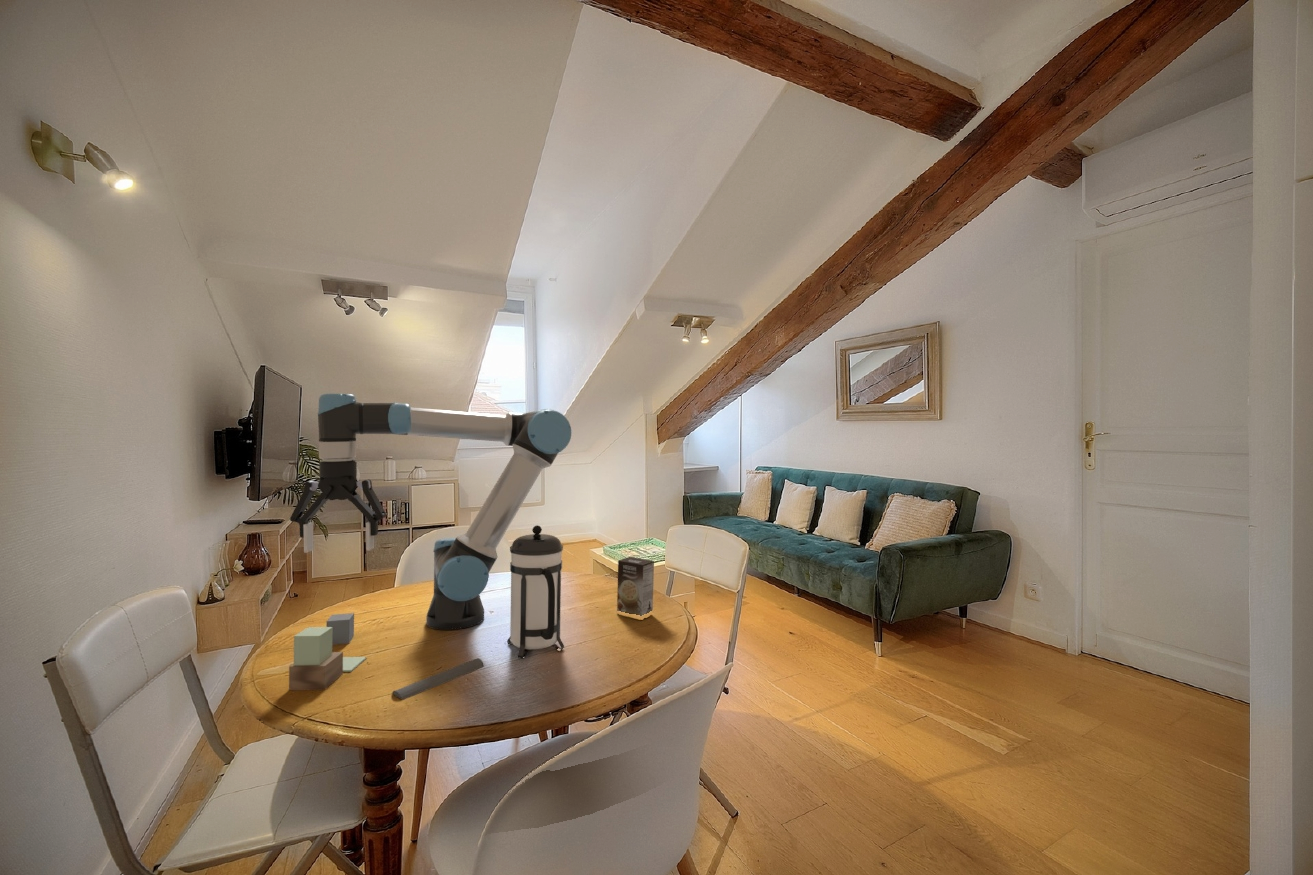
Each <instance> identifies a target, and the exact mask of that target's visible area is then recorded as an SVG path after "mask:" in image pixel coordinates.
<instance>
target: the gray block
mask: <svg viewBox="0 0 1313 875" xmlns="http://www.w3.org/2000/svg"><path fill="white" fill-rule="evenodd" d="M325 625H326V626H325V627H333V635H332V646H337V644H339V645H347V644H350V643H351V642H350V641H352V640H353V639H354V637H355V612H351V613H337V614H335V613H334V614H331V615H330V616H329V618H328V619H327V620H326V624H325Z"/></svg>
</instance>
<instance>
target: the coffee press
mask: <svg viewBox="0 0 1313 875" xmlns="http://www.w3.org/2000/svg"><path fill="white" fill-rule="evenodd" d="M542 530H543V529H542V527H541V526H540V525H538V524H537V525H534V526H533V527H532V529H531V531H532V533H533V534H525V535H522V536H519V537H517V538H515V539H514V540H513V542H512V544H511V546H509V552H510V553H511V554H510V556H511V558H510V559H511V561H510V562H509V563H510V565H509V566H510V568H509V570H510V622H509V623H510V626H509V627H510V629H509V630H510V632H509V633H510V635H509V637H508V639H507V641H506V643H507V645H509V644H510V645H509V646H512V645H513V646H515V647H516V648H518V651H517V656H516V657H517V658H518V659H523V657H526V655H527V653H528V652H529V650H541V649H545V648H548V647H553V648H554V649H555V650H556V651H557V649H558V648H560V649H561V651H563V650H564V649H563V648H565V644H564V642H563V641H562V640H561V617H562V616H561V611H562V610H561V608H562V605H561V604H562V569H563V560H562V554H563V553H562V552H563V550H564V545H563V544H562V543H561V540H560V538H558V537H557V536H555V535H551V534H547V533H546V534H544V533H542ZM557 642H558V644H556V643H557ZM558 645H559V646H560V647H559V646H558ZM562 649H563V650H562Z"/></svg>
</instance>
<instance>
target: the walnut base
mask: <svg viewBox="0 0 1313 875" xmlns="http://www.w3.org/2000/svg"><path fill="white" fill-rule="evenodd" d="M343 657H344V651H332V656H330V657H329V658H328V659H327V660H325V661H324V662H323V663H322V664H320V665H302V666H294V662H293V663H292V664H291V665H289V667H288V690H289V691H313V690H314V691H318V690H319V691H321V690H322V691H325V690H327V688H329V687H330V686H331V685H332V684H333V683H335V682H336V681H337V680H338V679H339V678H341V677H342V675H343V674H344V672H343Z"/></svg>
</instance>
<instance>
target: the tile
mask: <svg viewBox="0 0 1313 875" xmlns="http://www.w3.org/2000/svg"><path fill="white" fill-rule="evenodd" d="M365 660H367V656H343V673H352V672H353V671H354V670H355V669H356V668H357V667H359V666H360V665H361V664H362V663H363V662H364V661H365Z"/></svg>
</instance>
